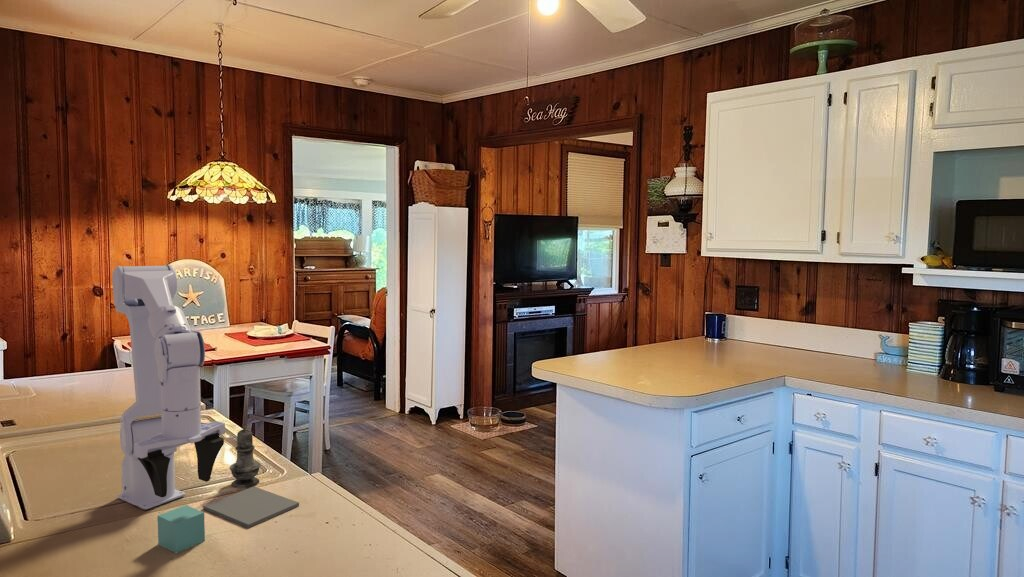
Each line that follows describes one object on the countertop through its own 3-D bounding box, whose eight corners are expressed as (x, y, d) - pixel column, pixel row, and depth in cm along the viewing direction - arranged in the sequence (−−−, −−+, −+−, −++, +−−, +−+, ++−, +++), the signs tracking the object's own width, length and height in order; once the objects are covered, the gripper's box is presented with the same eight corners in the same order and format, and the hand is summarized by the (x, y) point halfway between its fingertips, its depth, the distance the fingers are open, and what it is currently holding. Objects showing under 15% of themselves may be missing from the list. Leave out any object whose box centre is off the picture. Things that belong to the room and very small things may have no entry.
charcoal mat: (203, 508, 123) (203, 505, 123) (254, 489, 133) (254, 486, 133) (248, 527, 117) (248, 524, 117) (299, 505, 126) (299, 502, 126)
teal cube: (158, 544, 110) (157, 515, 110) (186, 533, 114) (186, 504, 114) (176, 553, 108) (175, 523, 107) (204, 541, 112) (204, 512, 111)
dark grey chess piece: (250, 490, 132) (249, 431, 131) (223, 487, 133) (222, 428, 132) (266, 479, 138) (266, 422, 137) (241, 476, 139) (240, 419, 138)
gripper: (151, 422, 100) (154, 509, 102) (236, 400, 113) (237, 478, 114) (125, 413, 104) (128, 498, 105) (209, 394, 116) (211, 469, 118)
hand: (183, 487), depth 110 cm, fingers open, 7 cm apart
